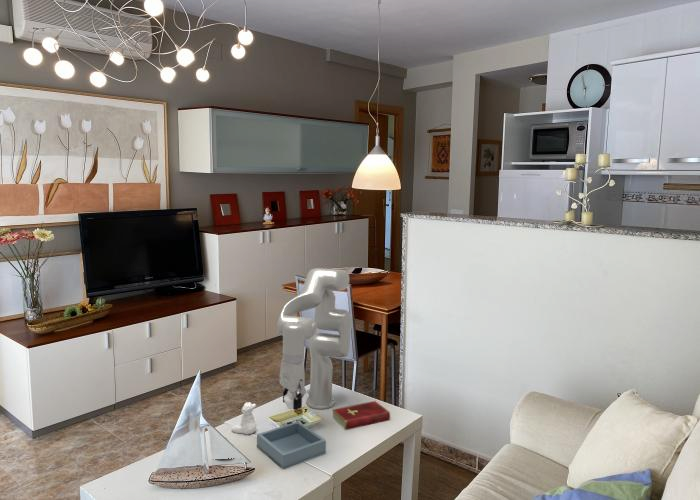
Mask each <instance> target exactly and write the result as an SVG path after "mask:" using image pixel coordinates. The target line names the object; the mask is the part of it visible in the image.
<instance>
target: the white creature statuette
mask: <svg viewBox="0 0 700 500" xmlns="http://www.w3.org/2000/svg"><path fill="white" fill-rule="evenodd" d="M256 406H257V404H256V403H252V402H250V401H247V402H244V404H243V406H242V407H241V411H240V412H242V416H241V421H240V425H239V424H235V425H232V426H231V428H230V430H231V432H232V433H235V434H236V433H237V434H241V435H242V434H243V435H252V434H254V433H255V432H256V430H257V426H258V425H257V423H256V421H255V416H254V414H253V411H254V408H256Z"/></svg>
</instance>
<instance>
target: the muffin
mask: <svg viewBox="0 0 700 500" xmlns="http://www.w3.org/2000/svg"><path fill="white" fill-rule="evenodd" d="M298 394H299V392H297V395H298ZM294 399H295V397H294V392H291V391H290V390H288V393H287V394H286V395H285V396H284V401H285V403H284V404H285V406H286V408H287V409H289V410H294V409H293V404H294Z"/></svg>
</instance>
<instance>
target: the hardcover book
mask: <svg viewBox="0 0 700 500" xmlns="http://www.w3.org/2000/svg"><path fill="white" fill-rule="evenodd" d="M331 411H332V418H333V420H335V422H337V423H338V424H339V425H340V427H342V428H343V430H344V431H346V430H347V431H348V430H351V429H355V428H360V427H365V426H369V425H374V424H379V423H382V422H387V421H391V411H389V410H388V409H387V408H386V407H384V406H383V405H381V403H379V402H378V401H376V400H373V401H368V402H363V403H357V404H353V405H349V406H342V407H339V408H333V409H331Z"/></svg>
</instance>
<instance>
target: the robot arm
mask: <svg viewBox="0 0 700 500" xmlns="http://www.w3.org/2000/svg"><path fill="white" fill-rule="evenodd" d="M349 284H350V274H349V273H348V271H347V270H345V269H337V268H336V269H334V268H324V267H323V268H322V267H321V268H320V267H316V268H312V269H310V270H309V271H308V272H307V275H306V278H305V281H304V282H303V286H302V289H301V292H300V294H298V295H296V296H295V297H293V298H292V299H291V300H289V301H288V302H286V303H285V304H284V306H283V307H282V309H281V310H280V314H279V317H278V320H277V322H276V330H277V331H276V332H277V333H278V334H279V335H280V336H282V358H281V363H280V368H279V384H280V385H281V387H282V388H281V390H282V402H283V403H284V404H285V401H284V396H285V395H286V394H287V393H288V390H290V391H291V392H294V397H295V399H294V404H293V409H292V410H295V411H296V410H300V409H302V407H303V404H302V403H303V398H304V396H305V395H306V393H307V394H308V397H307V398H306V400H305V404H306V405H307V406H308V407H310V408H312V409H314V410H315V409H316V410H326V409H330V408H332V407H334V406H335V403H336V400H335V398H333V397H332V395H333V363H332V360H331V358H330V357H333V358H346V357H348V355H349V352H350V349H351V348H350V347H351V333H352V316H351V313H350V311H348V310H347V309H341V308H336V295H335V292H334V291H338V292H341V291H345V290H346V289H347V288H348V287H349ZM311 309H314V318H311V317H303V316H295V315H296V314H298V313H300V312H304V311H308V310H311ZM317 330H322V331H328V332H329V331H331V332H337V334H336V333H326V332H317ZM307 339H309V340H308V344H309V345H308V346H309V348H308V349H309V353H310V354H309V355H310V377H309V379H310V381H309V389H307V390H306V388H305V386H306V378H305V377H306V375H305V373H306V372H305V363H304V361H305V341H306V340H307ZM297 393H298V395H297Z"/></svg>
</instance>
